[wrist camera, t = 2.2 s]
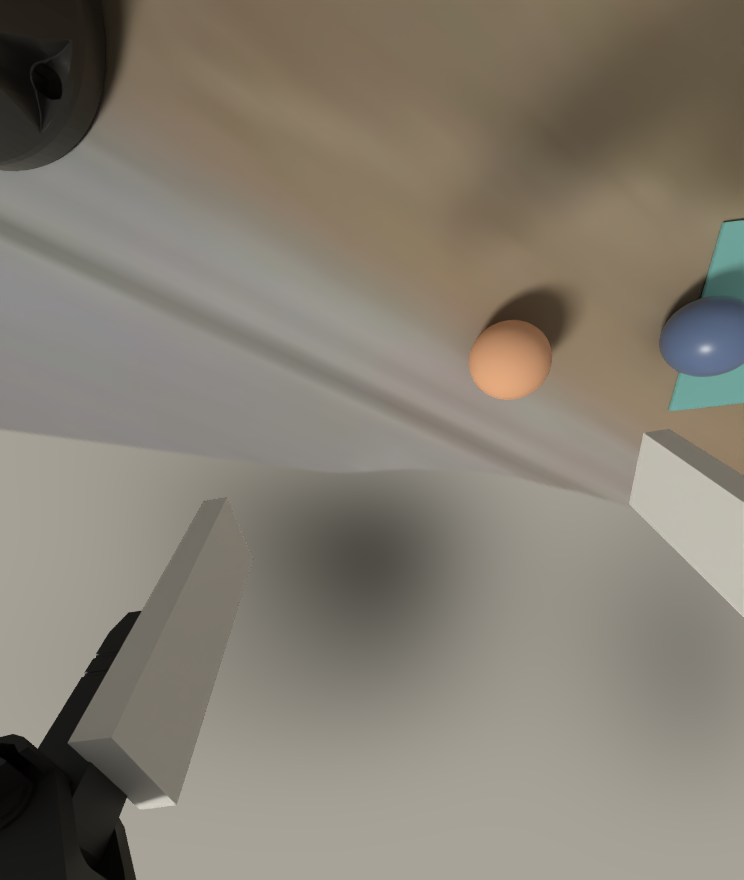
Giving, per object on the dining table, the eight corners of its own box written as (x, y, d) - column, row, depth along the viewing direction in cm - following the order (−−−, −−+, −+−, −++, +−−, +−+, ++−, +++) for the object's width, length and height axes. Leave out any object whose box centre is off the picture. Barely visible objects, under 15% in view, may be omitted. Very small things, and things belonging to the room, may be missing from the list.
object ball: (635, 367, 31) (687, 392, 26) (651, 295, 28) (713, 308, 23) (704, 359, 31) (769, 383, 26) (727, 286, 28) (805, 297, 23)
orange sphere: (460, 387, 31) (480, 416, 26) (461, 317, 28) (482, 335, 24) (529, 379, 31) (561, 407, 26) (535, 308, 28) (572, 324, 23)
